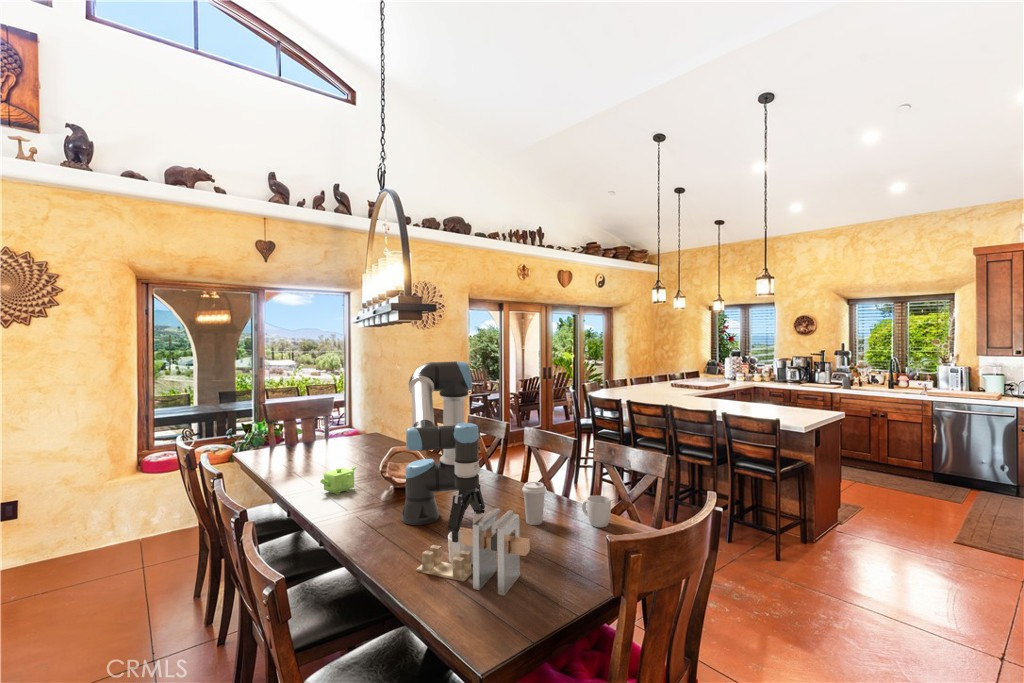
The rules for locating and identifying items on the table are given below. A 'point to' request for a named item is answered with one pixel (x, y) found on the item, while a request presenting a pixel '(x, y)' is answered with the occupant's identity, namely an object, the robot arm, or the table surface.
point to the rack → (446, 564)
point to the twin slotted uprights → (487, 558)
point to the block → (491, 542)
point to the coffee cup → (534, 502)
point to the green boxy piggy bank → (338, 480)
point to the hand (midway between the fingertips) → (467, 542)
